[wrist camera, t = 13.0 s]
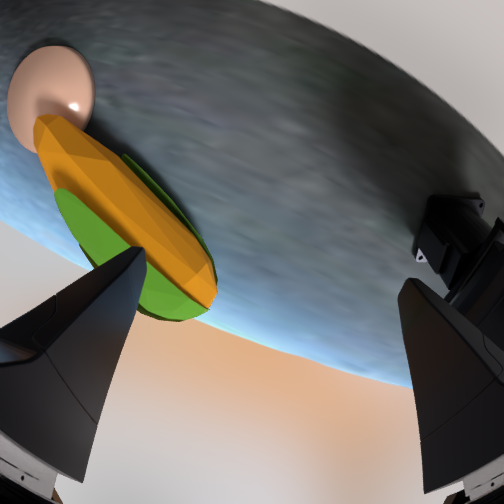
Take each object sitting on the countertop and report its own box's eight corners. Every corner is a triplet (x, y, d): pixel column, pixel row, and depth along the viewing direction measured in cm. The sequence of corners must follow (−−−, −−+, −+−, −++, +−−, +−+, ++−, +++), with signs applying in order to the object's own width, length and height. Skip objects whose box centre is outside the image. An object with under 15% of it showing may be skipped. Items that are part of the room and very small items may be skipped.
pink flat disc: (89, 29, 14) (80, 29, 13) (103, 138, 19) (96, 142, 18) (10, 68, 15) (1, 70, 14) (26, 158, 20) (18, 163, 19)
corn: (164, 361, 22) (-21, 175, 13) (178, 298, 28) (36, 144, 19) (239, 326, 20) (27, 90, 11) (240, 262, 26) (88, 80, 17)
